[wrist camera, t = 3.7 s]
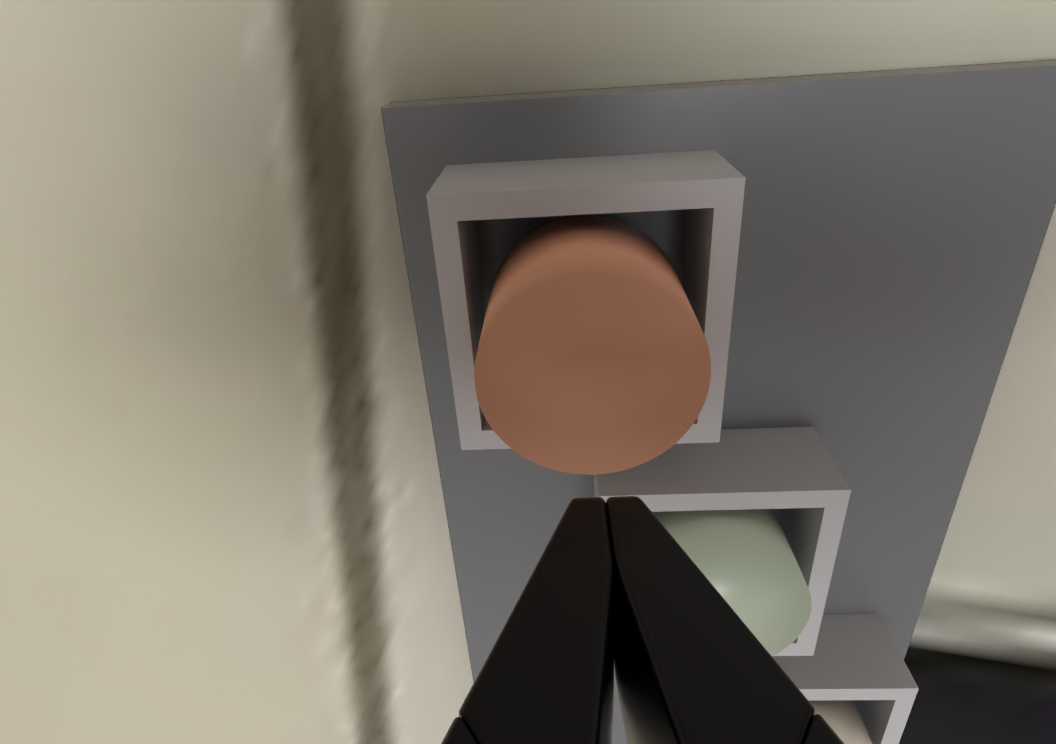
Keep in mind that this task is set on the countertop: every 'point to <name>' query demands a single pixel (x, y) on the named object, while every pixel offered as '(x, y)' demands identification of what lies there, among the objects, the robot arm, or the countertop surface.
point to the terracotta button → (590, 349)
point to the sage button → (747, 568)
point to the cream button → (843, 720)
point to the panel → (753, 318)
